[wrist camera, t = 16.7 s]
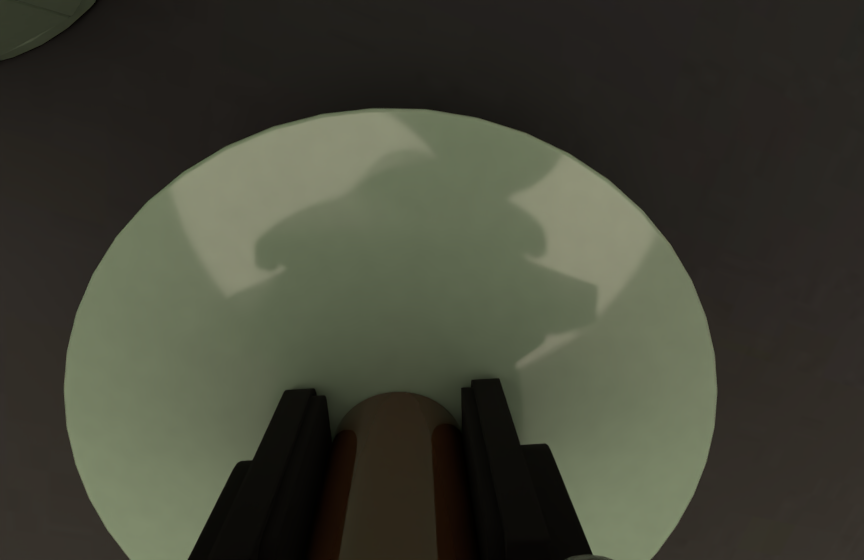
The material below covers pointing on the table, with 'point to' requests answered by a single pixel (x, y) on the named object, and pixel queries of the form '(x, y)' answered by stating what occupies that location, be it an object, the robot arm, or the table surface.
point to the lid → (390, 336)
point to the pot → (35, 22)
